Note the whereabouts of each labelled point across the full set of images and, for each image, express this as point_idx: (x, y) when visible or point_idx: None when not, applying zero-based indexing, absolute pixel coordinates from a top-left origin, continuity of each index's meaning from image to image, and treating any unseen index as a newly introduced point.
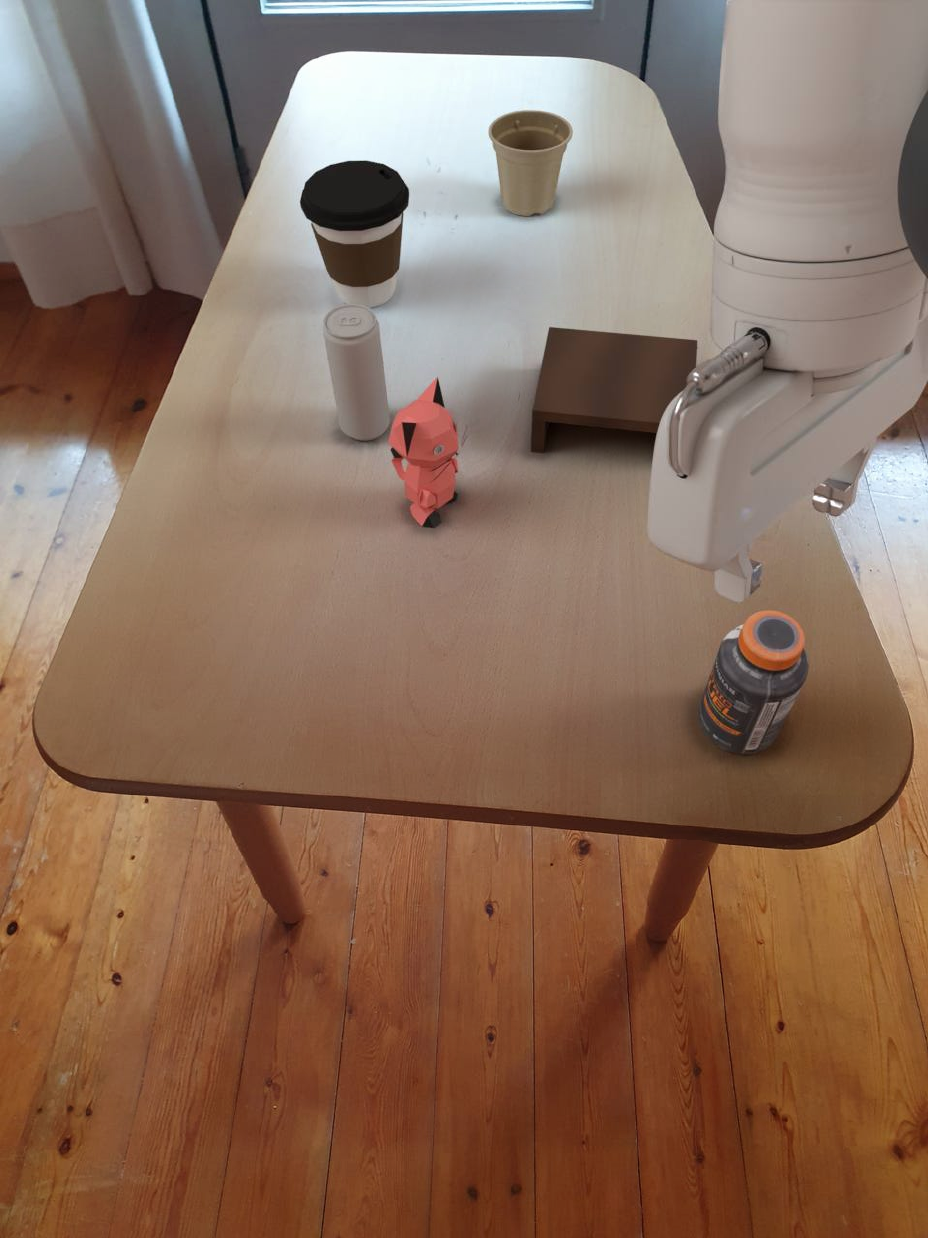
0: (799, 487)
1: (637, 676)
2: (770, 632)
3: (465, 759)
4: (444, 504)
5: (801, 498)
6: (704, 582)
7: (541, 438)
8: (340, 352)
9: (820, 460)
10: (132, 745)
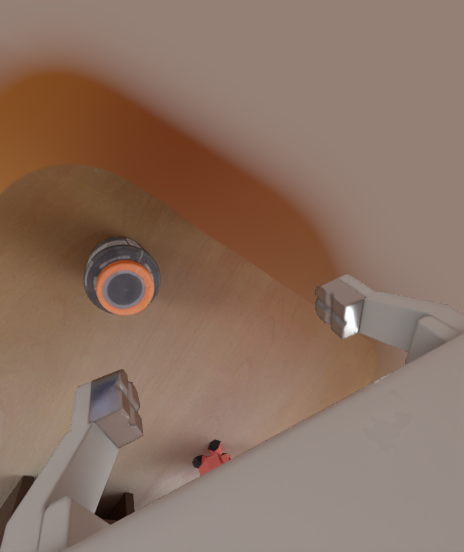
0: (447, 407)
1: (162, 315)
2: (129, 292)
3: (266, 300)
4: (202, 455)
5: (394, 384)
6: (73, 370)
7: (127, 505)
8: None
9: (406, 481)
10: (360, 350)
